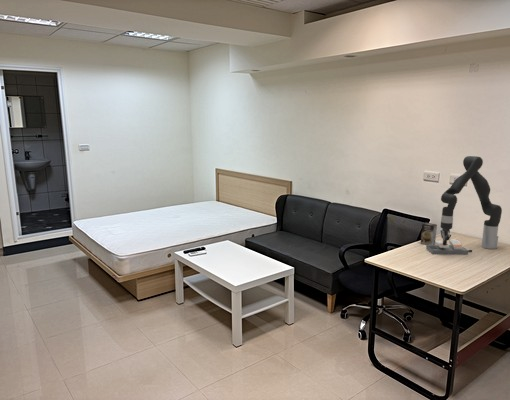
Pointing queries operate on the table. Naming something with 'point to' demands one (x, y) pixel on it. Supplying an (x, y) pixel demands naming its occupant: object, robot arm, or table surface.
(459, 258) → the table surface
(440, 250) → the rocker switch panel
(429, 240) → the coffee box
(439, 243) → the block
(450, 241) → the rocker
